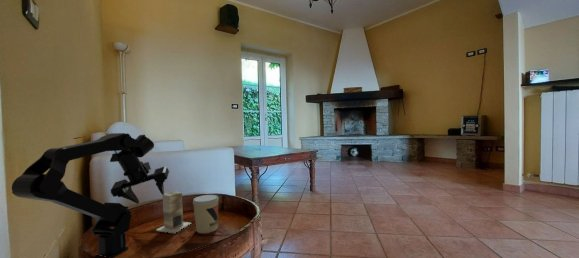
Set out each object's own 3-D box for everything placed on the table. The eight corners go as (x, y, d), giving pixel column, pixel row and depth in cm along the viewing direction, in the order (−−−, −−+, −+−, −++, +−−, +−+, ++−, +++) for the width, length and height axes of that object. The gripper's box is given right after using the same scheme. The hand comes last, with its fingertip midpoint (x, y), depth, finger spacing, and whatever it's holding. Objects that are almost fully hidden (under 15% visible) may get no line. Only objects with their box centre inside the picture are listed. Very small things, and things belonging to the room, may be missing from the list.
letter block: (171, 230, 95) (169, 196, 95) (164, 227, 98) (162, 194, 98) (183, 225, 100) (182, 192, 99) (176, 222, 103) (174, 191, 102)
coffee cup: (212, 234, 91) (210, 202, 91) (189, 233, 93) (187, 201, 92) (224, 224, 100) (222, 194, 100) (202, 223, 102) (201, 194, 102)
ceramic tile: (174, 233, 93) (174, 232, 93) (156, 231, 96) (156, 229, 96) (191, 224, 102) (191, 222, 102) (173, 221, 105) (173, 220, 105)
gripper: (162, 146, 97) (178, 178, 104) (111, 162, 94) (131, 194, 101) (157, 160, 88) (175, 194, 95) (99, 178, 84) (122, 212, 91)
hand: (151, 198), depth 96 cm, fingers open, 9 cm apart
